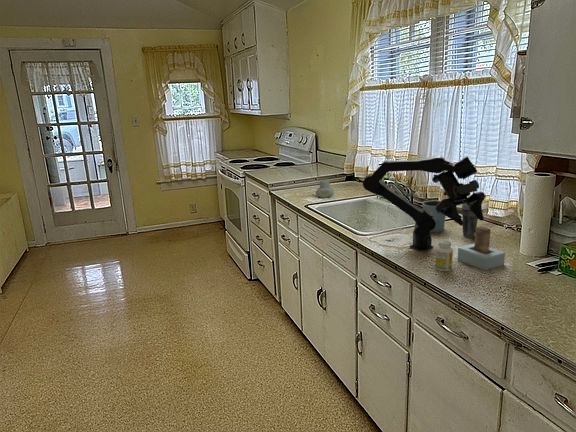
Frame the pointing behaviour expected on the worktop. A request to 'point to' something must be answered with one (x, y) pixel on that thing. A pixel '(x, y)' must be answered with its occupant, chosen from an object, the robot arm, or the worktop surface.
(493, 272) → the worktop surface
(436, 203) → the blue-grey round container
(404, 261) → the worktop surface
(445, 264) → the supplement bottle
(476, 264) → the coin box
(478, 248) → the wooden block
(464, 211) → the beverage cup
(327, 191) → the air freshener
